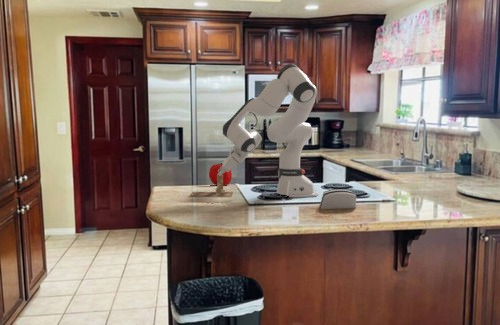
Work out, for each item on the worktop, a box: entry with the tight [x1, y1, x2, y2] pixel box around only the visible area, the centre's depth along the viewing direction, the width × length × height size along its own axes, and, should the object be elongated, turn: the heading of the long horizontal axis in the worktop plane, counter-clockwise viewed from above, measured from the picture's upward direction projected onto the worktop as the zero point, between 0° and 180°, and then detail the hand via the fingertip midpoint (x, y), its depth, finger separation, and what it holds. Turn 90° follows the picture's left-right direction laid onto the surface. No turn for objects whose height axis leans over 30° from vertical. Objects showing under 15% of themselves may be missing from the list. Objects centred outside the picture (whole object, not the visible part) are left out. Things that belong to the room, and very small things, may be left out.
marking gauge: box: [215, 174, 226, 195], centre depth 225 cm, size 4×6×10 cm
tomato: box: [208, 162, 233, 187], centre depth 256 cm, size 16×14×14 cm
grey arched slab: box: [319, 189, 357, 210], centre depth 199 cm, size 17×5×10 cm, turn 95°
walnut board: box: [188, 191, 234, 198], centre depth 224 cm, size 22×13×2 cm, turn 88°
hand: (218, 173), depth 225 cm, fingers open, 8 cm apart
